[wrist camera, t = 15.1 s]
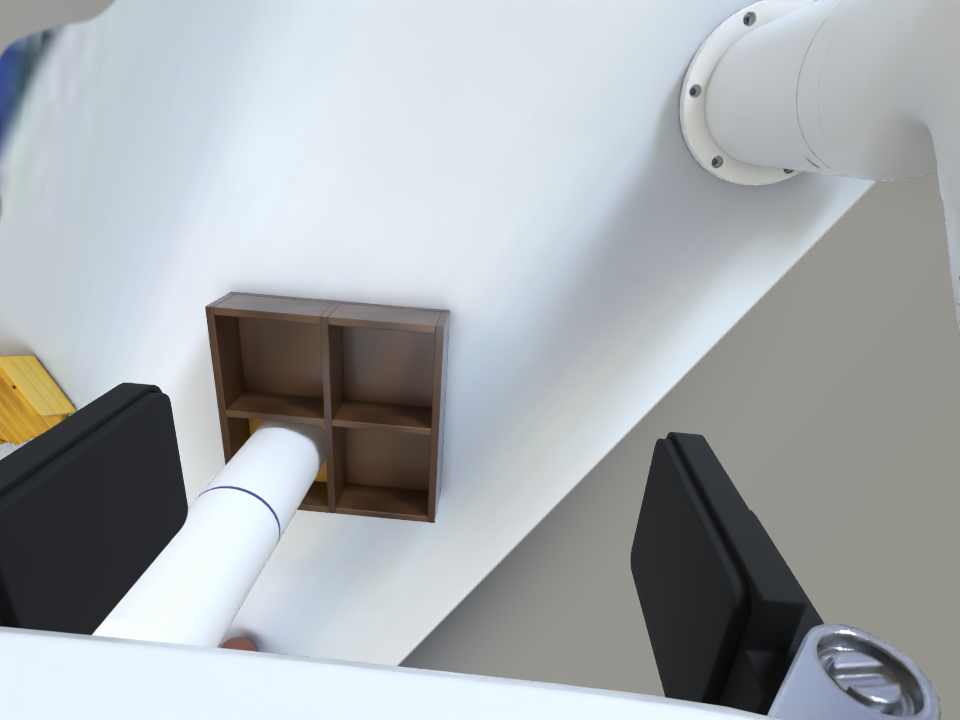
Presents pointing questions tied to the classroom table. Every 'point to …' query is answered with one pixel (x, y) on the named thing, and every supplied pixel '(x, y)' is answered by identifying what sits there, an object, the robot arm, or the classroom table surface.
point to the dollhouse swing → (28, 400)
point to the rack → (340, 393)
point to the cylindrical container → (222, 541)
